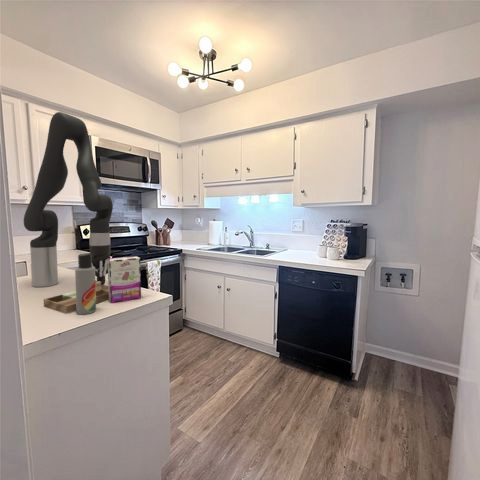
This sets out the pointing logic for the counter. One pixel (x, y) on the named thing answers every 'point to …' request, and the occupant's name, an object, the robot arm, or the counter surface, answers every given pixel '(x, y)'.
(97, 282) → the beech block
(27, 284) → the counter surface
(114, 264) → the candy bar box
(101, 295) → the board
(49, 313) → the counter surface
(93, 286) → the lotion bottle
